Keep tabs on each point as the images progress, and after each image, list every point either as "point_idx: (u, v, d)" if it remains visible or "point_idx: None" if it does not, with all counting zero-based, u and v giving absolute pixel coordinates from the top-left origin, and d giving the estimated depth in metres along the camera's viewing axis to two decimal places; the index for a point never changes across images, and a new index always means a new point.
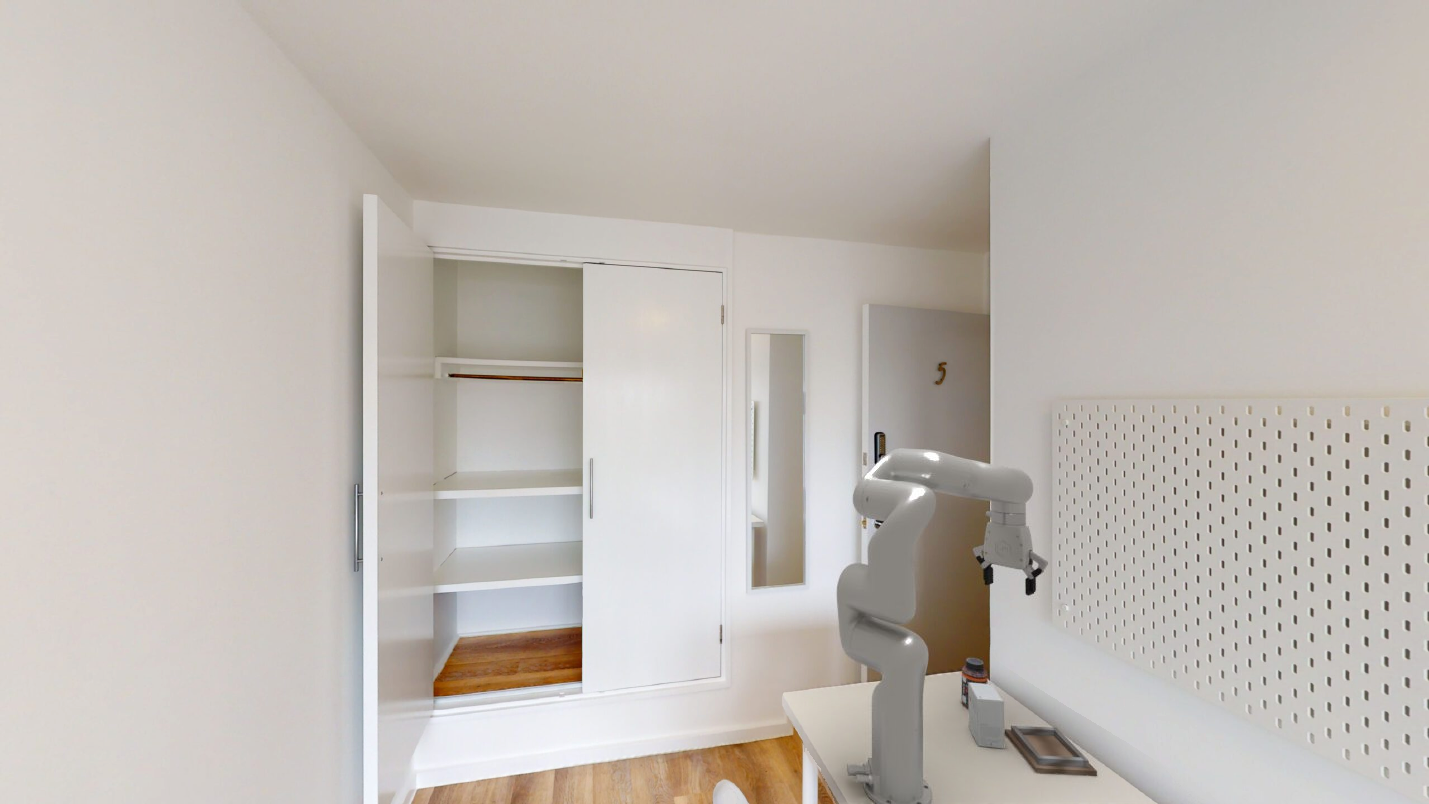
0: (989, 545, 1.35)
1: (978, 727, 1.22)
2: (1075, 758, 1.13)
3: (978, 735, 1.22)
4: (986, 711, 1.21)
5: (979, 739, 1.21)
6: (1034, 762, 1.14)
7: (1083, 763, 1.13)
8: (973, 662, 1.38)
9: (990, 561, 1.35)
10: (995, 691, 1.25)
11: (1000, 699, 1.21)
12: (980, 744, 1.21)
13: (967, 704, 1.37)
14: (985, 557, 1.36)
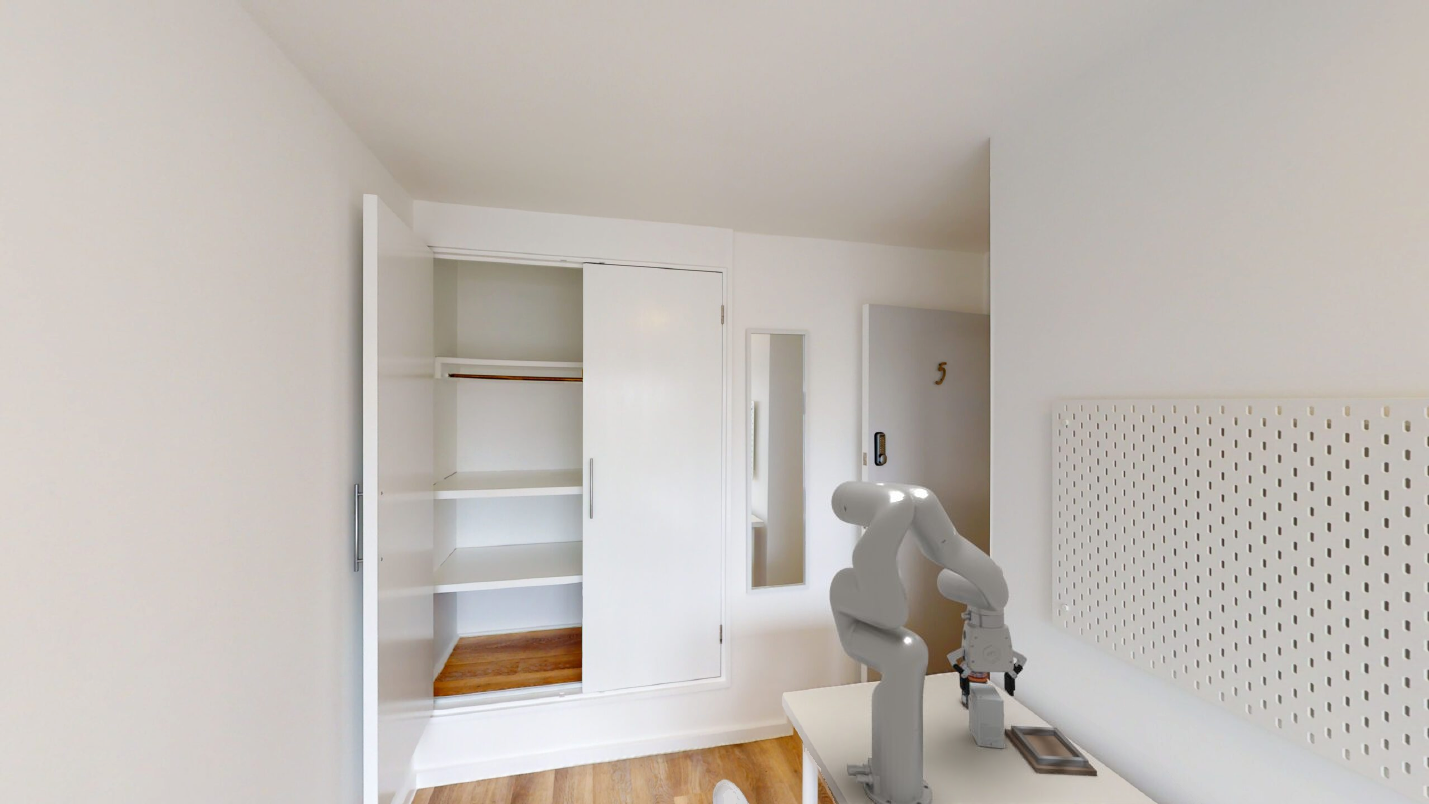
0: (975, 652, 1.23)
1: (978, 727, 1.22)
2: (1075, 758, 1.13)
3: (978, 735, 1.22)
4: (986, 711, 1.21)
5: (979, 739, 1.21)
6: (1034, 762, 1.14)
7: (1083, 763, 1.13)
8: None
9: (977, 670, 1.23)
10: (995, 691, 1.25)
11: (1000, 699, 1.21)
12: (980, 744, 1.21)
13: (967, 704, 1.37)
14: (971, 666, 1.23)
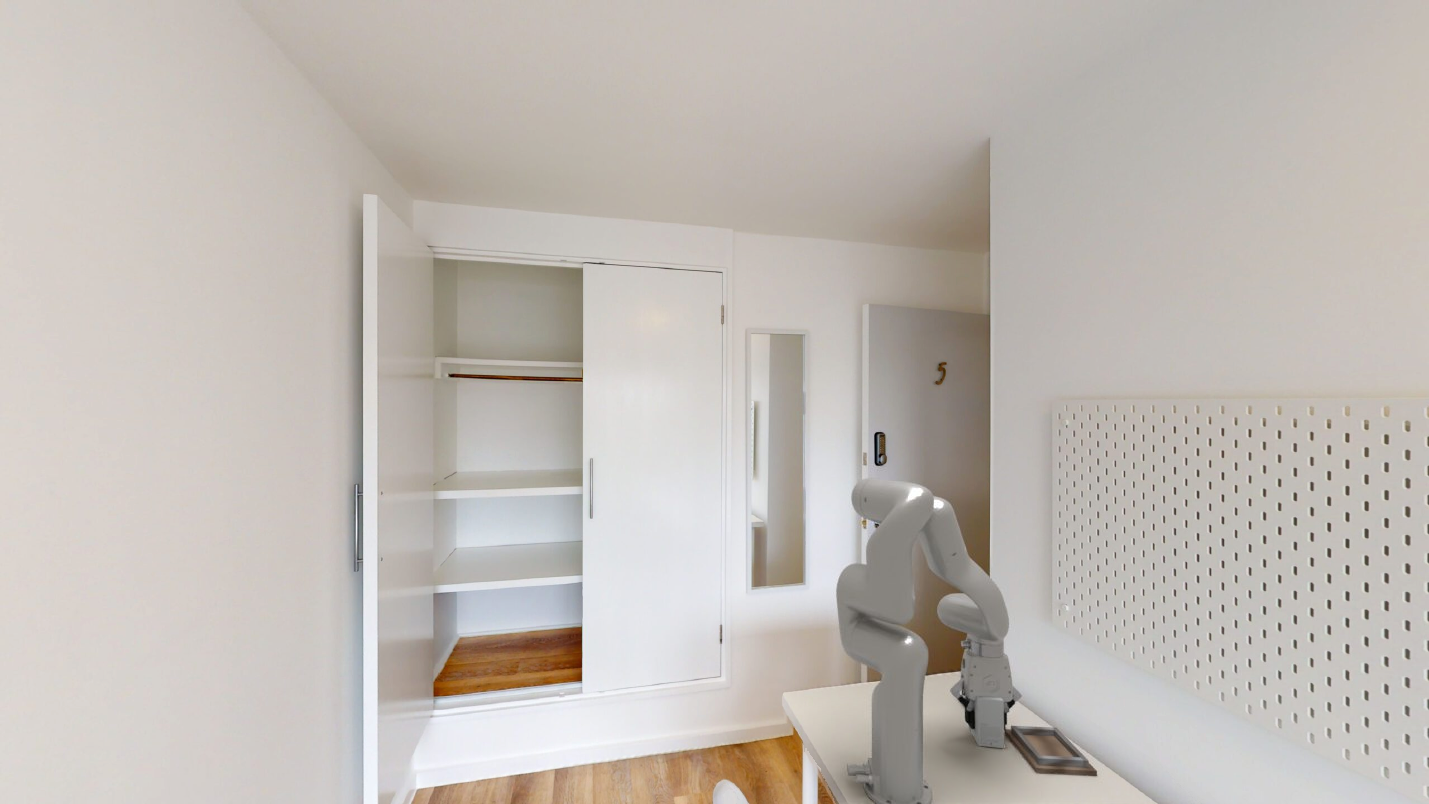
0: (974, 682, 1.23)
1: (978, 727, 1.22)
2: (1075, 758, 1.13)
3: (978, 735, 1.22)
4: (986, 711, 1.21)
5: (979, 739, 1.21)
6: (1034, 762, 1.14)
7: (1083, 763, 1.13)
8: None
9: None
10: None
11: (1000, 699, 1.21)
12: (980, 744, 1.21)
13: None
14: (970, 696, 1.23)
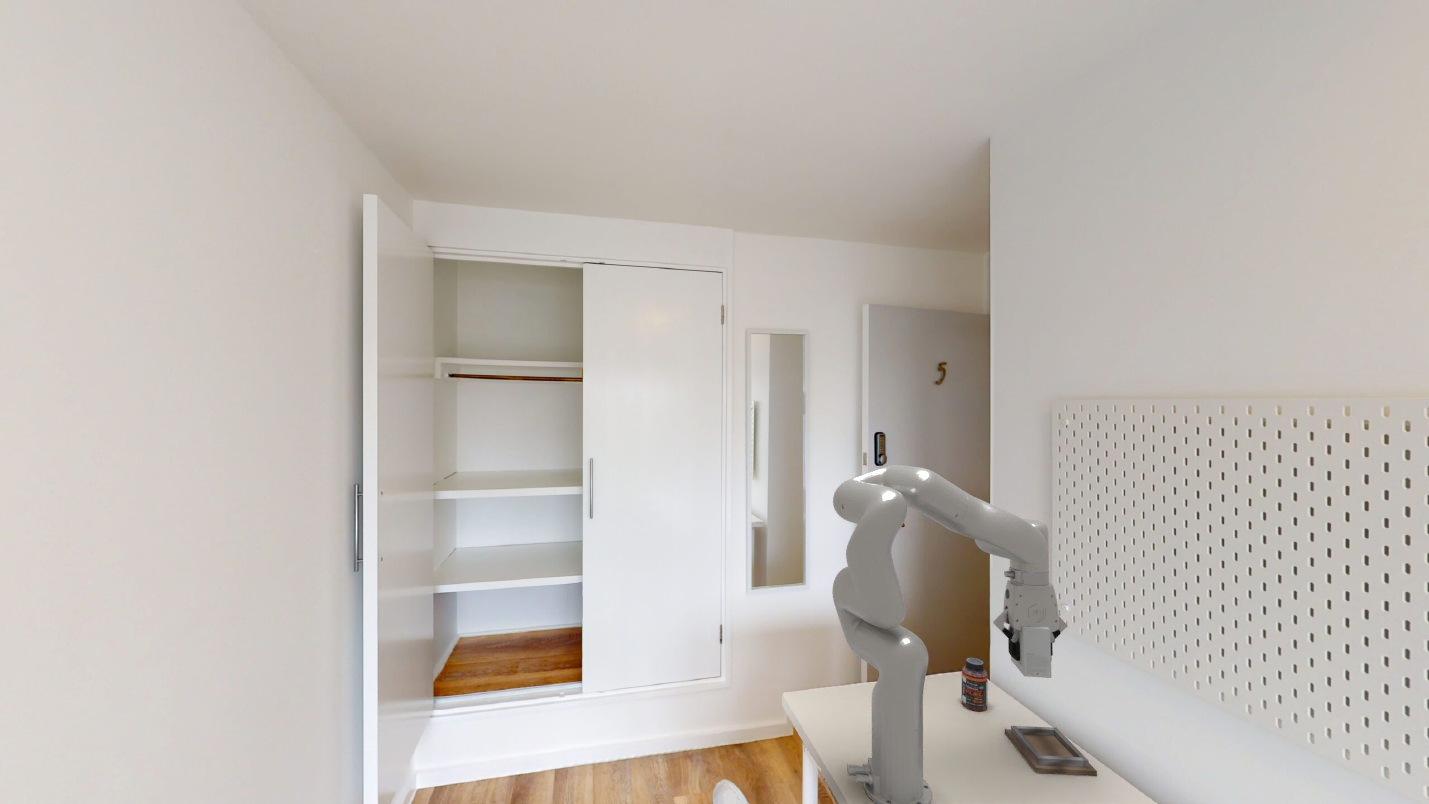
0: (1020, 611, 1.19)
1: (1024, 657, 1.18)
2: (1075, 758, 1.13)
3: (1024, 665, 1.18)
4: (1032, 640, 1.18)
5: (1025, 669, 1.18)
6: (1034, 762, 1.14)
7: (1083, 763, 1.13)
8: (973, 662, 1.38)
9: None
10: None
11: (1046, 628, 1.18)
12: (1026, 675, 1.18)
13: (967, 704, 1.37)
14: (1016, 626, 1.19)
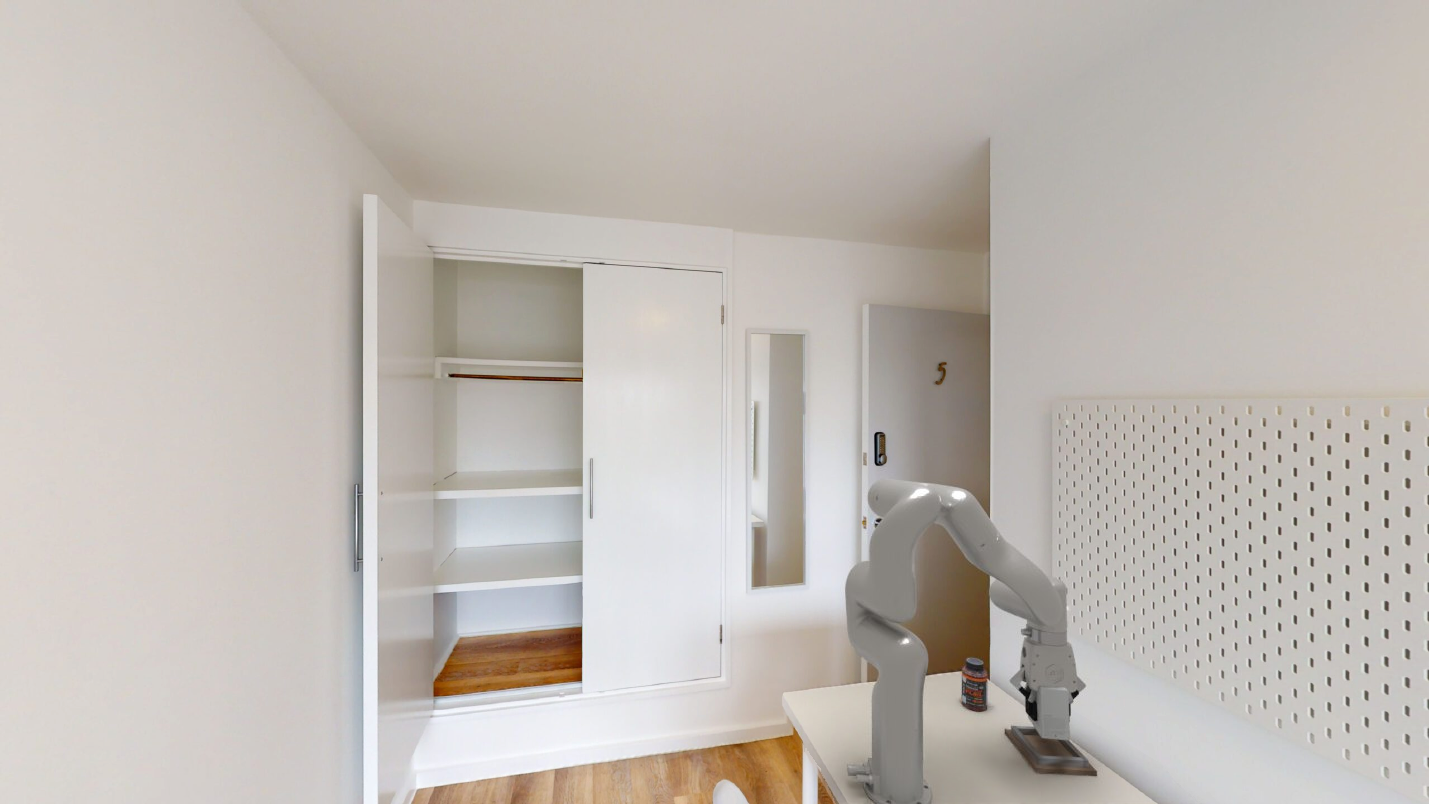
0: (1037, 671, 1.17)
1: (1041, 718, 1.16)
2: (1075, 758, 1.13)
3: (1042, 727, 1.16)
4: (1050, 701, 1.16)
5: (1043, 731, 1.16)
6: (1034, 762, 1.14)
7: (1083, 763, 1.13)
8: (973, 662, 1.38)
9: None
10: None
11: (1064, 689, 1.16)
12: (1043, 736, 1.16)
13: (967, 704, 1.37)
14: (1033, 686, 1.17)
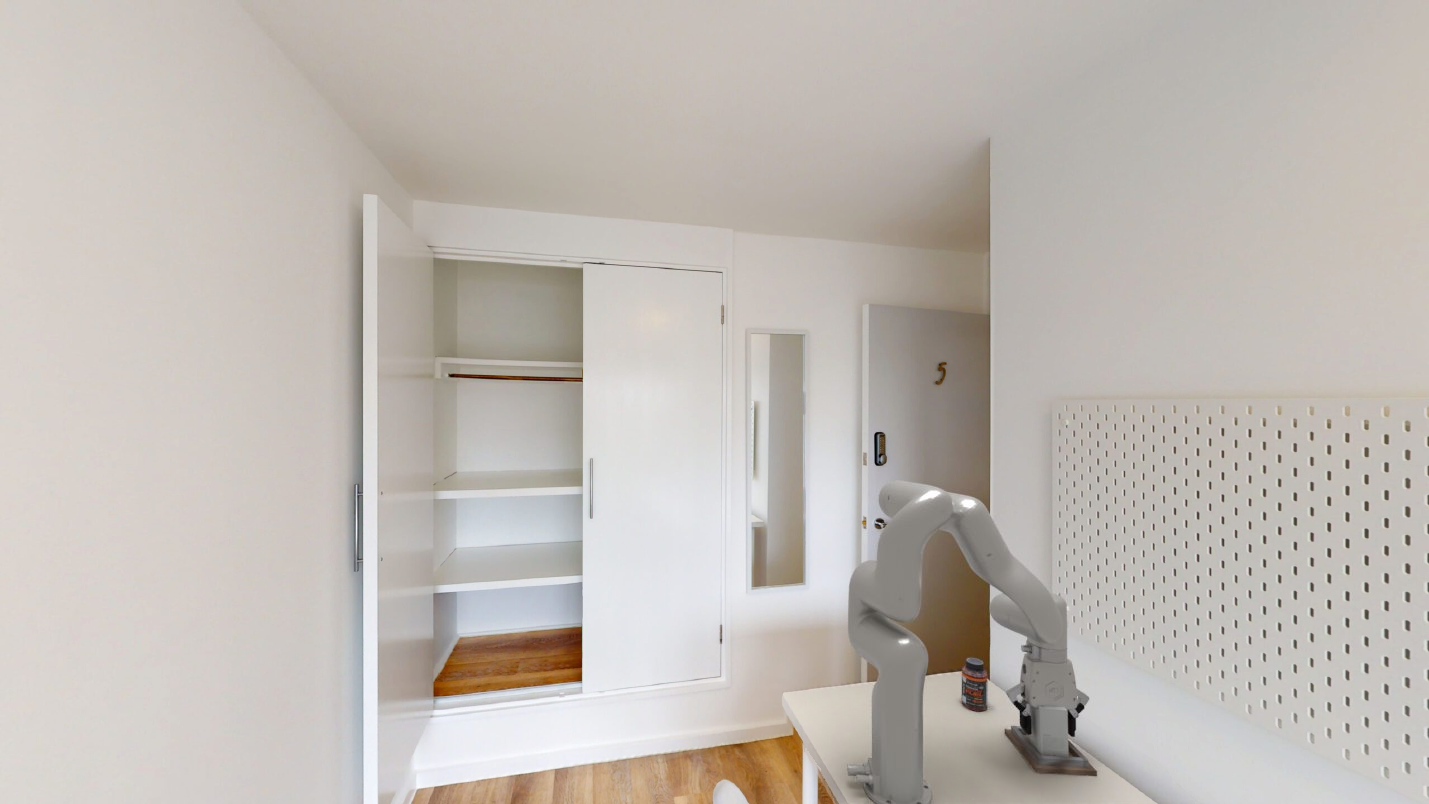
0: (1037, 688, 1.17)
1: (1040, 738, 1.16)
2: (1075, 758, 1.13)
3: (1040, 746, 1.16)
4: (1049, 721, 1.16)
5: (1042, 750, 1.16)
6: (1034, 762, 1.14)
7: (1083, 763, 1.13)
8: (973, 662, 1.38)
9: None
10: None
11: (1063, 708, 1.16)
12: None
13: (967, 704, 1.37)
14: (1033, 703, 1.17)
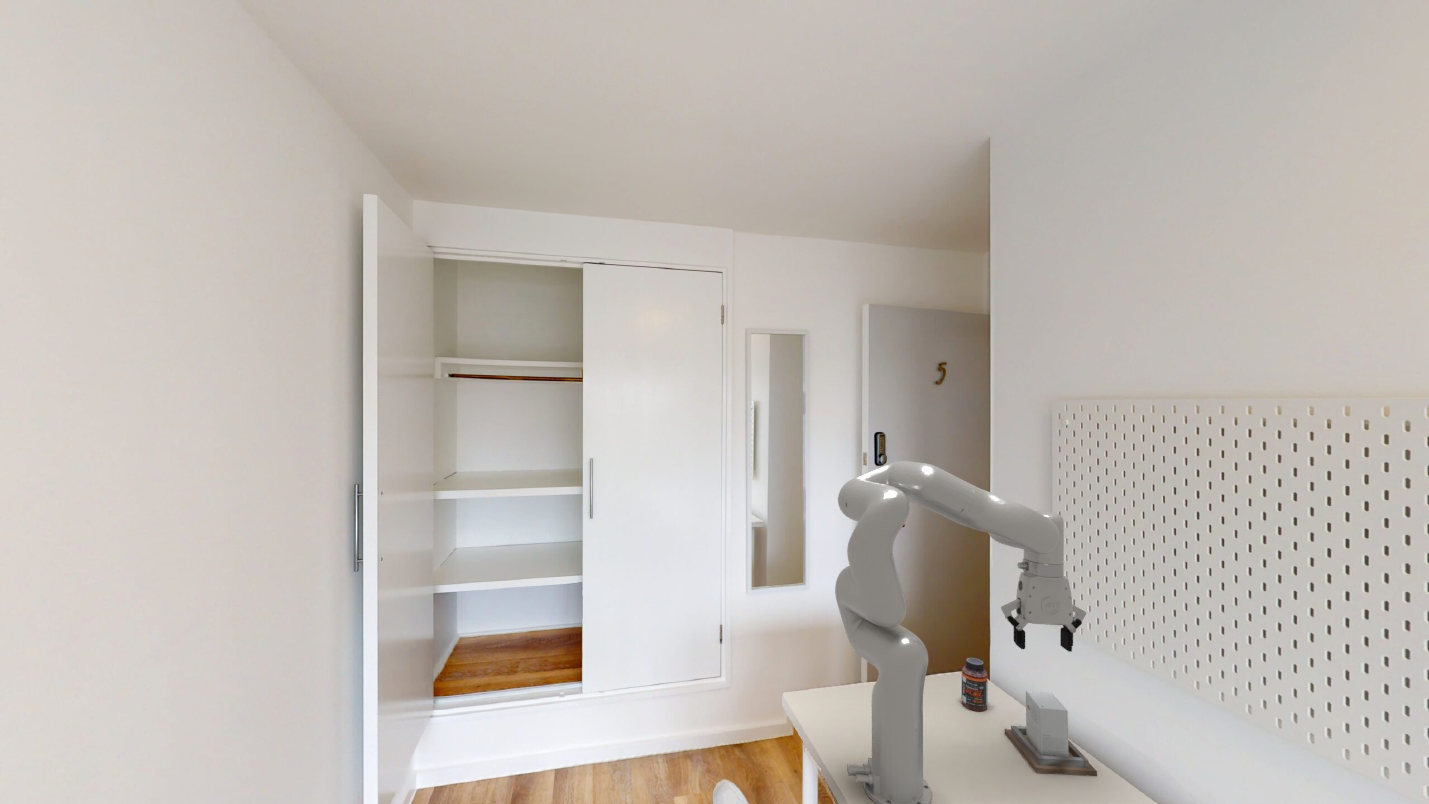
0: (1033, 603, 1.17)
1: (1040, 738, 1.16)
2: (1075, 758, 1.13)
3: (1041, 746, 1.16)
4: (1049, 721, 1.16)
5: (1042, 750, 1.16)
6: (1034, 762, 1.14)
7: (1083, 763, 1.13)
8: (973, 662, 1.38)
9: (1034, 621, 1.17)
10: (1056, 700, 1.19)
11: (1063, 708, 1.16)
12: None
13: (967, 704, 1.37)
14: (1028, 618, 1.17)
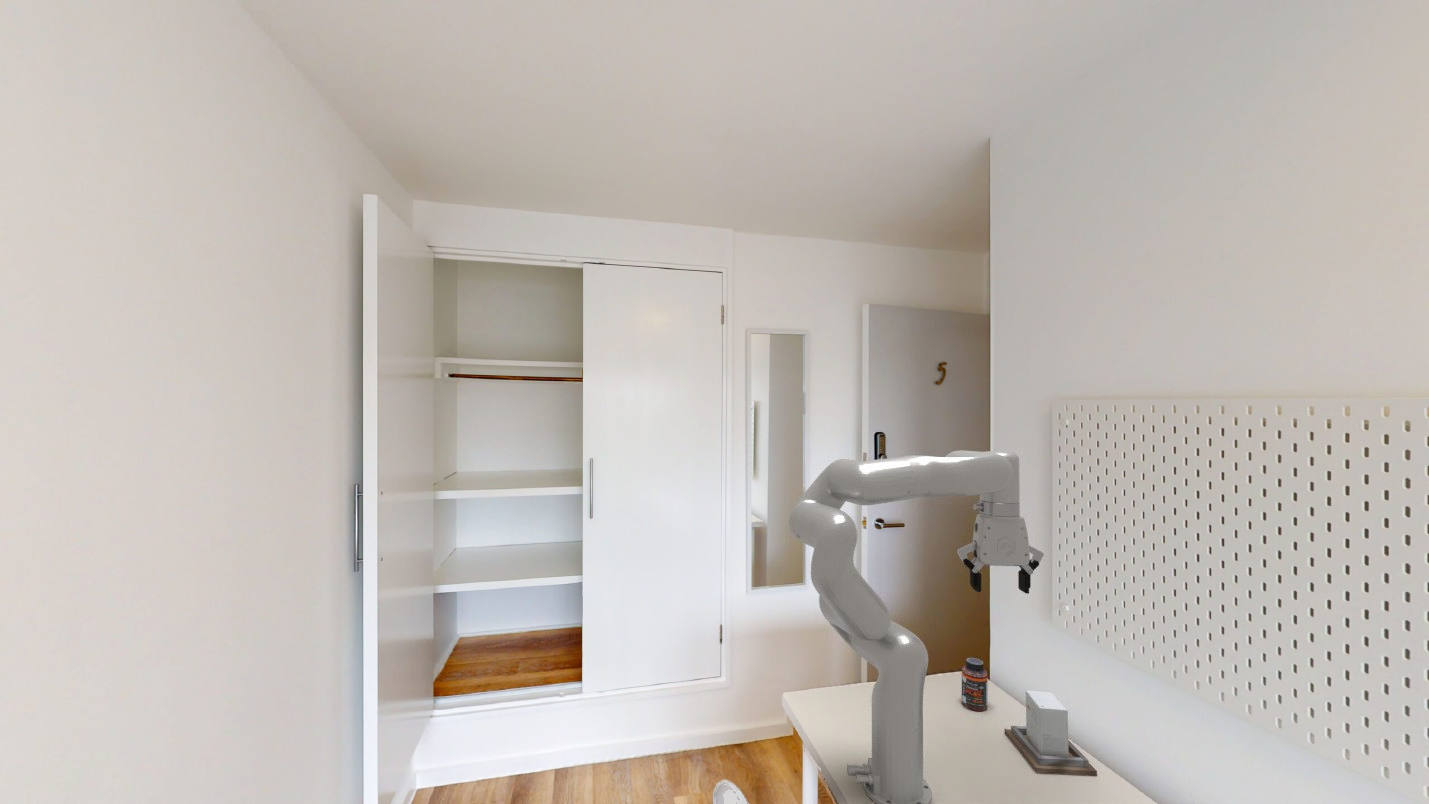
0: (988, 544, 1.14)
1: (1040, 738, 1.16)
2: (1075, 758, 1.13)
3: (1041, 746, 1.16)
4: (1049, 721, 1.16)
5: (1042, 750, 1.16)
6: (1034, 762, 1.14)
7: (1083, 763, 1.13)
8: (973, 662, 1.38)
9: (990, 563, 1.13)
10: (1056, 700, 1.19)
11: (1063, 708, 1.16)
12: None
13: (967, 704, 1.37)
14: (984, 559, 1.14)
